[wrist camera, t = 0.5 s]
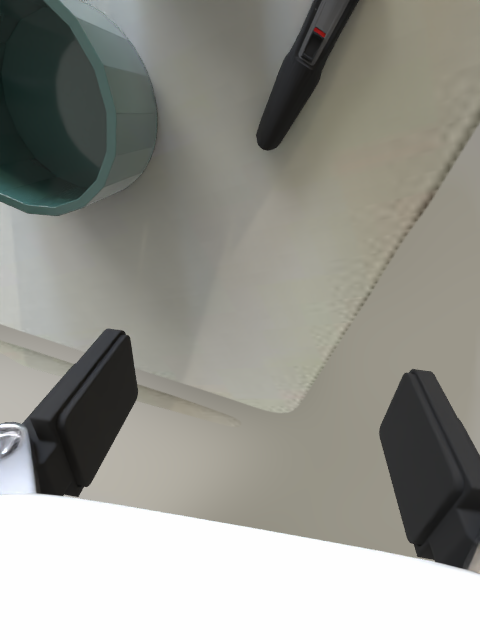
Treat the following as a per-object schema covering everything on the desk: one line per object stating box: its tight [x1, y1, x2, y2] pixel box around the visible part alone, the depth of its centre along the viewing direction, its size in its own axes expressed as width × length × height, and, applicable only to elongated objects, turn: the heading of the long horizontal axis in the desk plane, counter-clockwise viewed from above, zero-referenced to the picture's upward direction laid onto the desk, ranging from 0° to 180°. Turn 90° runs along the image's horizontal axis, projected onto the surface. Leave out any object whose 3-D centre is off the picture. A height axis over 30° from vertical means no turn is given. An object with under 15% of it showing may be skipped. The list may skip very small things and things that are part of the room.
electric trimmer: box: [256, 0, 359, 151], centre depth 28 cm, size 4×16×3 cm, turn 152°
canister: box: [0, 0, 157, 216], centre depth 30 cm, size 17×17×10 cm
